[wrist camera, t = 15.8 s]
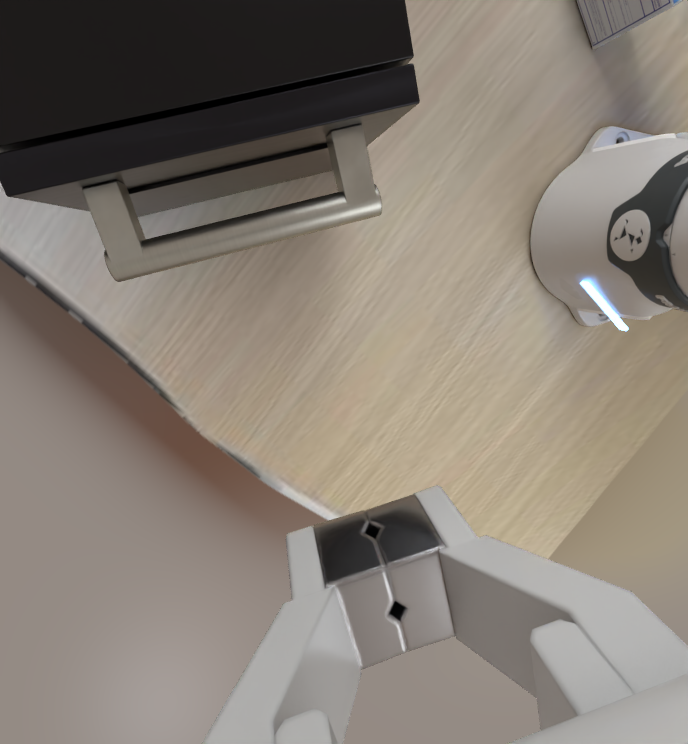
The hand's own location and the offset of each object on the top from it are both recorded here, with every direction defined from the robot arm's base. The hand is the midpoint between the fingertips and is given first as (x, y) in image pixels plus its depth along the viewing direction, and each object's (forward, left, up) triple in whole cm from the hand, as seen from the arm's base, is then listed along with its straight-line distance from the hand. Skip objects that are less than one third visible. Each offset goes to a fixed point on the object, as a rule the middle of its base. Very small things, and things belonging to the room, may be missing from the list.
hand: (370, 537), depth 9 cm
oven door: (+2, -8, -34) cm, 35 cm away
